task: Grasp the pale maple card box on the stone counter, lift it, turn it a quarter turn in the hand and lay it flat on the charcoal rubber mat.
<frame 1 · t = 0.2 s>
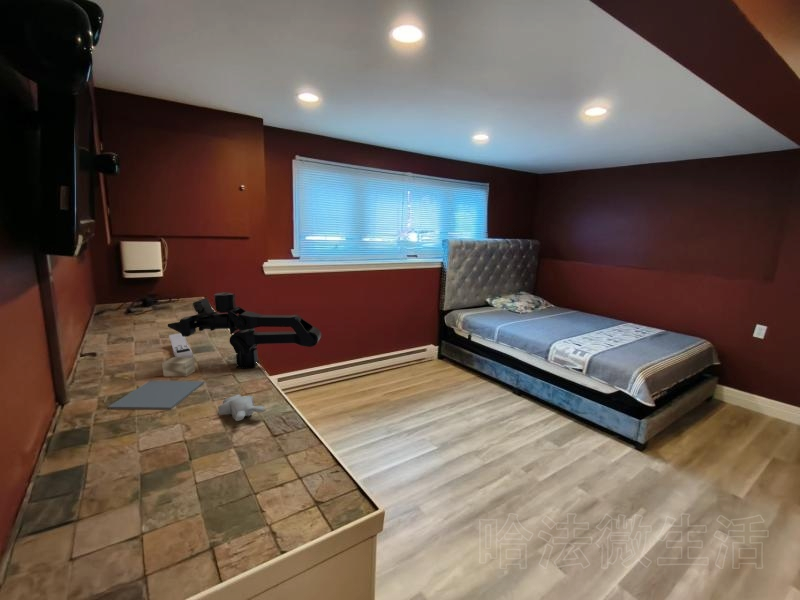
hand: (175, 322, 133), 17 cm above the worktop, tool horizontal, fingers open, 9 cm apart
mobile phone: (182, 354, 148), on the worktop
bunny figurine: (241, 416, 101), on the worktop
rubber mat: (159, 394, 112), on the worktop
card box: (179, 373, 129), on the worktop
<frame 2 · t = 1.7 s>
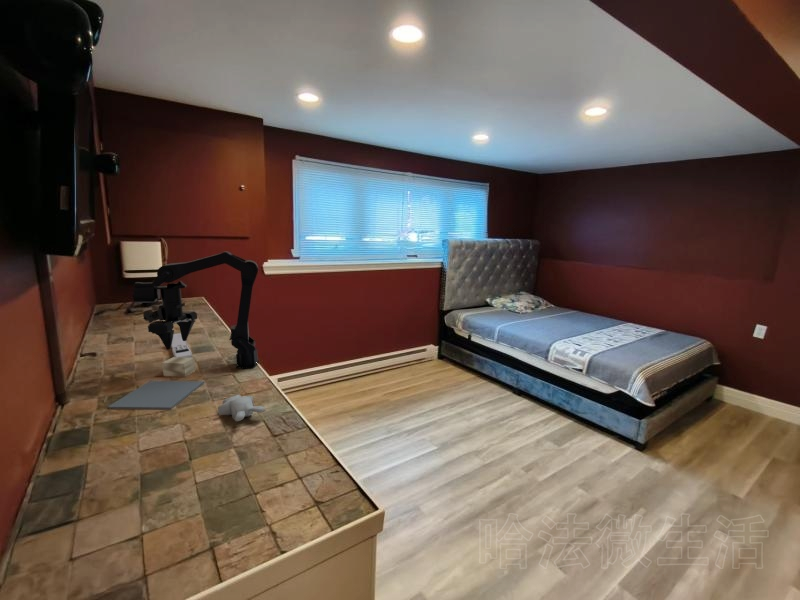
hand: (176, 344, 127), 10 cm above the worktop, tool pointing down, fingers open, 9 cm apart
nothing on the worktop moved.
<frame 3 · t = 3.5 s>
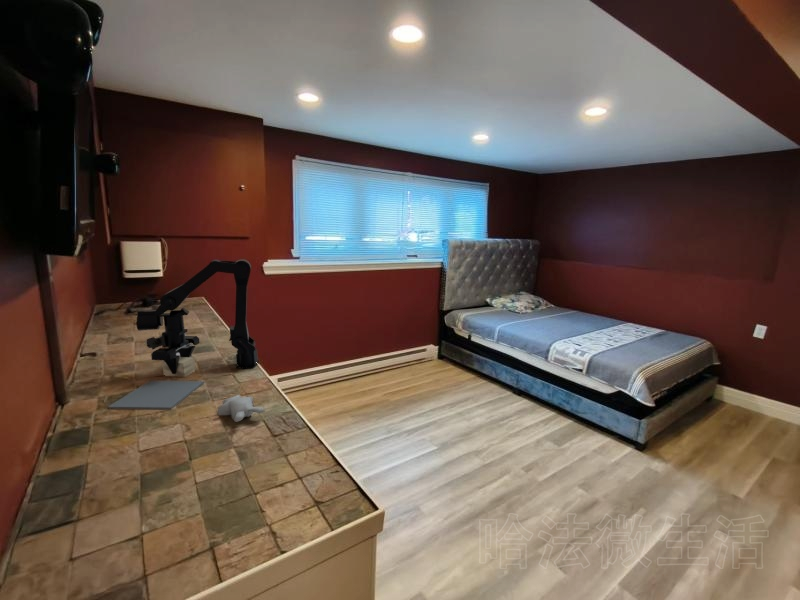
hand: (179, 370, 129), 1 cm above the worktop, tool pointing down, fingers closed on card box, 6 cm apart
card box: (179, 373, 129), on the worktop, touching gripper
everything else where it was.
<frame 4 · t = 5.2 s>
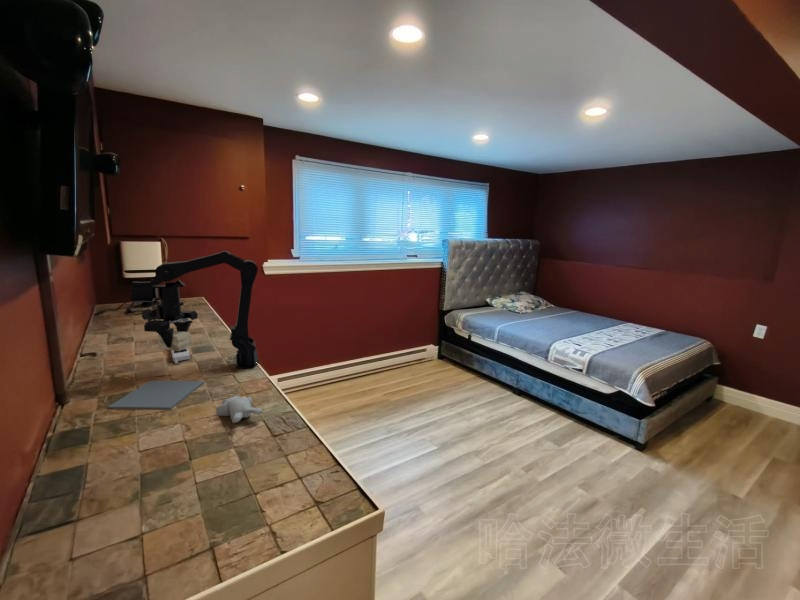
hand: (175, 344, 126), 11 cm above the worktop, tool pointing down, fingers closed on card box, 6 cm apart
card box: (175, 347, 126), point 10 cm above the worktop, touching gripper
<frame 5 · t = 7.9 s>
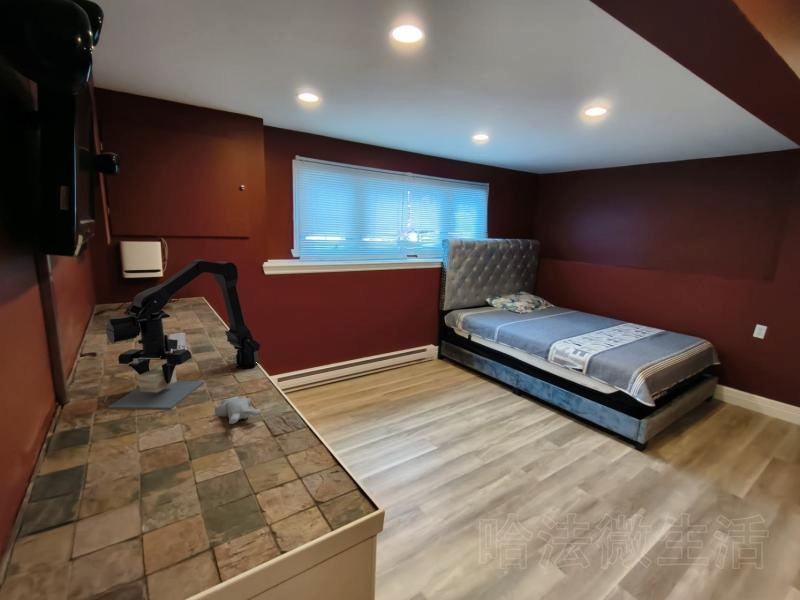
hand: (158, 383, 111), 4 cm above the worktop, tool pointing down, fingers closed on card box, 6 cm apart
card box: (159, 386, 112), point 3 cm above the worktop, touching gripper
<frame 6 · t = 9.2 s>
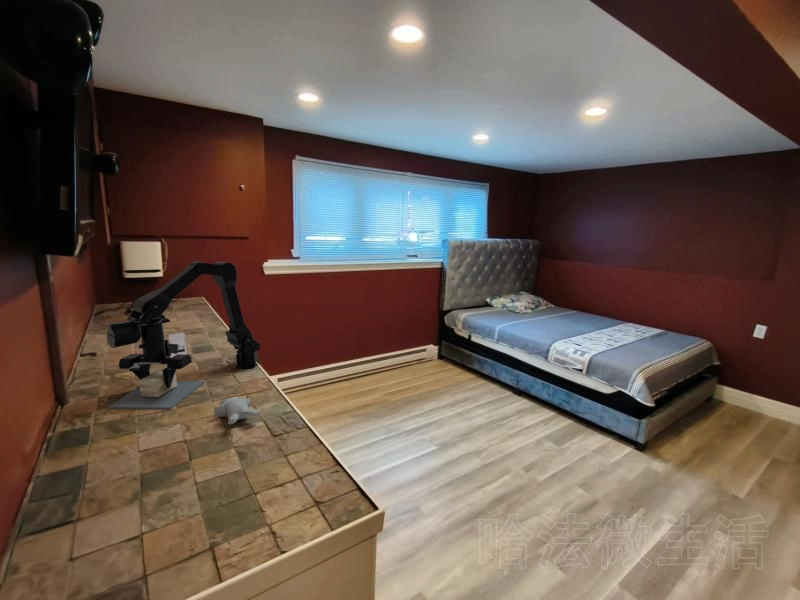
hand: (159, 387, 112), 2 cm above the worktop, tool pointing down, fingers closed on card box, 6 cm apart
card box: (159, 390, 112), point 1 cm above the worktop, touching gripper
when the fingers open (2 cm above the worktop, at t = 9.2 s): card box stays where it is, resting on rubber mat.
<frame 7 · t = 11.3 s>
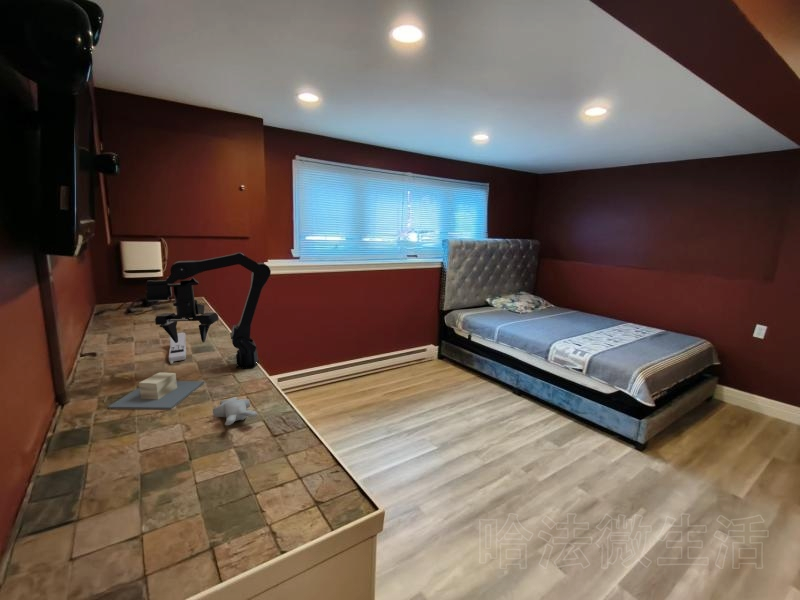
hand: (190, 342, 126), 12 cm above the worktop, tool pointing down, fingers open, 9 cm apart
card box: (159, 392, 112), point 1 cm above the worktop, touching rubber mat
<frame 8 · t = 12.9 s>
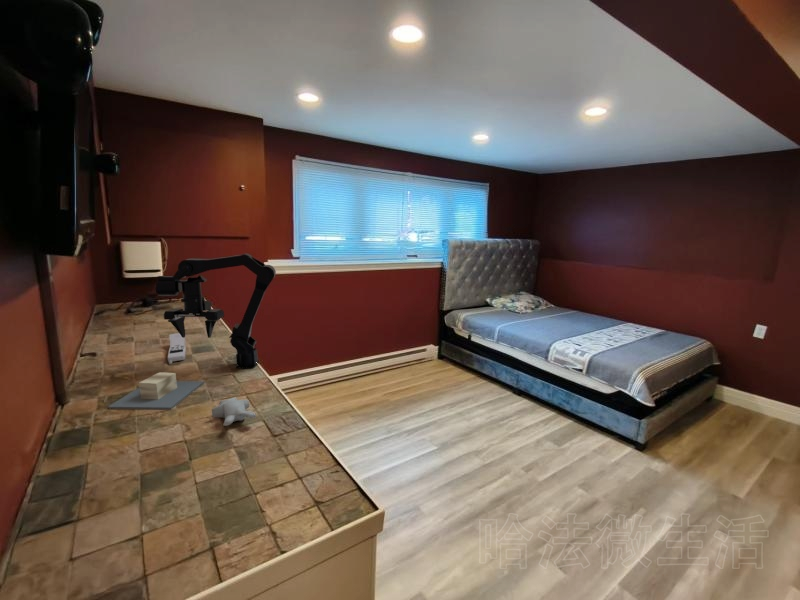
hand: (196, 337, 130), 12 cm above the worktop, tool pointing down, fingers open, 9 cm apart
at the end: card box inside the target area on the rubber mat (0.1 cm from its centre), point 0.6 cm above the rubber mat's base; card box tilted 0°; the gripper is holding nothing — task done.
